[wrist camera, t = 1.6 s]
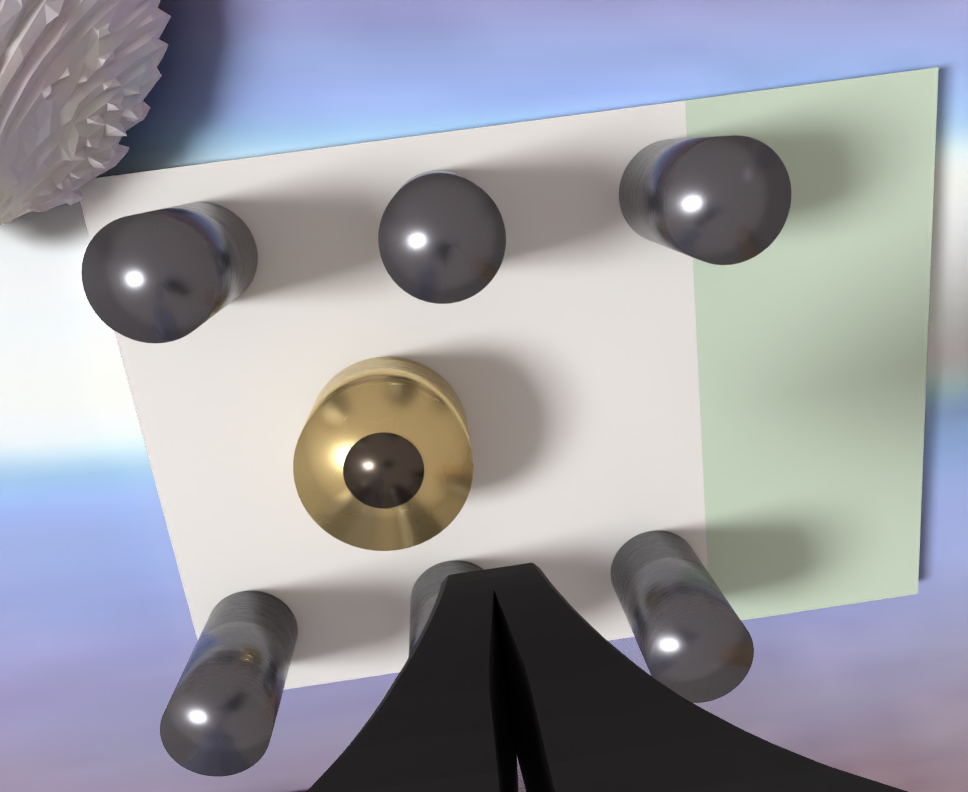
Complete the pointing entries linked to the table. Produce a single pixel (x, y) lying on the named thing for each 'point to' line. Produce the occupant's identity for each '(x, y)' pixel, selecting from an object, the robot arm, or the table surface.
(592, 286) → the field mat
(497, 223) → the spacers
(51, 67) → the seashell
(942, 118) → the table surface
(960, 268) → the table surface
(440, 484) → the brass knob
